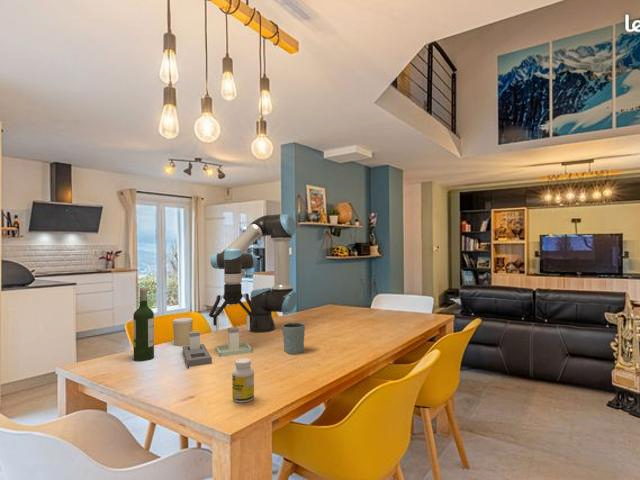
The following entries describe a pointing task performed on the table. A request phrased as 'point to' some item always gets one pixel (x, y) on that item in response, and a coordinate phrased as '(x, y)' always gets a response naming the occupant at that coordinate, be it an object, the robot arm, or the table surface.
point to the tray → (243, 349)
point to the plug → (233, 339)
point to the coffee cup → (182, 331)
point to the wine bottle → (143, 329)
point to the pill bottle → (243, 381)
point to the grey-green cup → (293, 338)
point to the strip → (196, 356)
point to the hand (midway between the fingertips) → (232, 331)
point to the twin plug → (194, 340)
